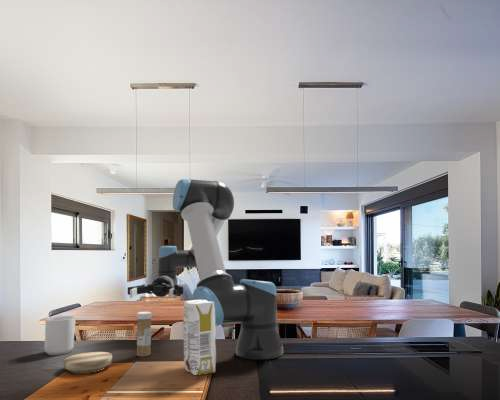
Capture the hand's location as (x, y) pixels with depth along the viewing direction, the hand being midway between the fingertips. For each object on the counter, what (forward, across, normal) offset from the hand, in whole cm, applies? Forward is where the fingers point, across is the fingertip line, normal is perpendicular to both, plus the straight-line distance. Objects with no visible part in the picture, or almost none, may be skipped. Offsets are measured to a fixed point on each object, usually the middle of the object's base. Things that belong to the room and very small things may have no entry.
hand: (150, 293), depth 141 cm
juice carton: (+28, -20, -17) cm, 39 cm away
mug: (+1, +29, -19) cm, 35 cm away
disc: (+22, +13, -18) cm, 31 cm away
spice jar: (+9, 0, -18) cm, 20 cm away
